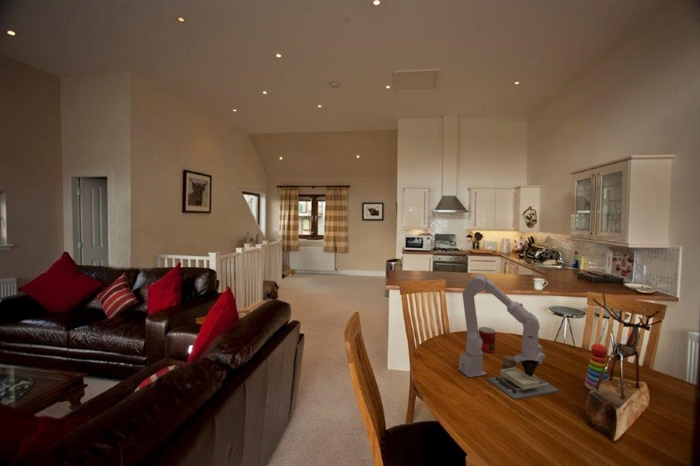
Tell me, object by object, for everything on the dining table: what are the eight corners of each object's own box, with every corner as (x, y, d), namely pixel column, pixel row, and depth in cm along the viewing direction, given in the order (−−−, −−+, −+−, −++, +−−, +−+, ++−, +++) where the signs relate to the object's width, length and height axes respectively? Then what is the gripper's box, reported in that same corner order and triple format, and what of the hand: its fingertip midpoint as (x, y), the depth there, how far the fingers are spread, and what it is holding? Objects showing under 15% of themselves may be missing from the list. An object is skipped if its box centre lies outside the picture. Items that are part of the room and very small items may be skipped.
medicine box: (542, 364, 145) (543, 346, 144) (533, 364, 145) (533, 346, 145) (533, 357, 153) (533, 340, 152) (524, 356, 153) (524, 340, 152)
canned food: (492, 354, 155) (493, 333, 154) (476, 350, 160) (477, 329, 159) (496, 349, 161) (496, 329, 161) (480, 345, 166) (480, 325, 165)
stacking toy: (614, 396, 119) (617, 349, 118) (591, 393, 121) (593, 347, 120) (602, 385, 127) (604, 341, 126) (580, 383, 129) (582, 339, 128)
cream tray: (522, 391, 119) (523, 384, 119) (500, 376, 130) (500, 369, 130) (539, 388, 121) (539, 381, 121) (515, 374, 132) (515, 367, 132)
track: (514, 400, 116) (514, 394, 116) (487, 379, 130) (487, 374, 130) (559, 391, 122) (559, 386, 122) (528, 373, 136) (528, 368, 136)
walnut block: (509, 373, 136) (509, 360, 136) (502, 368, 140) (502, 356, 140) (516, 371, 138) (516, 359, 137) (509, 367, 141) (509, 355, 141)
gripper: (523, 350, 120) (522, 384, 121) (552, 346, 124) (550, 379, 125) (510, 343, 127) (508, 375, 128) (537, 340, 131) (536, 370, 132)
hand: (528, 376), depth 127 cm, fingers closed
